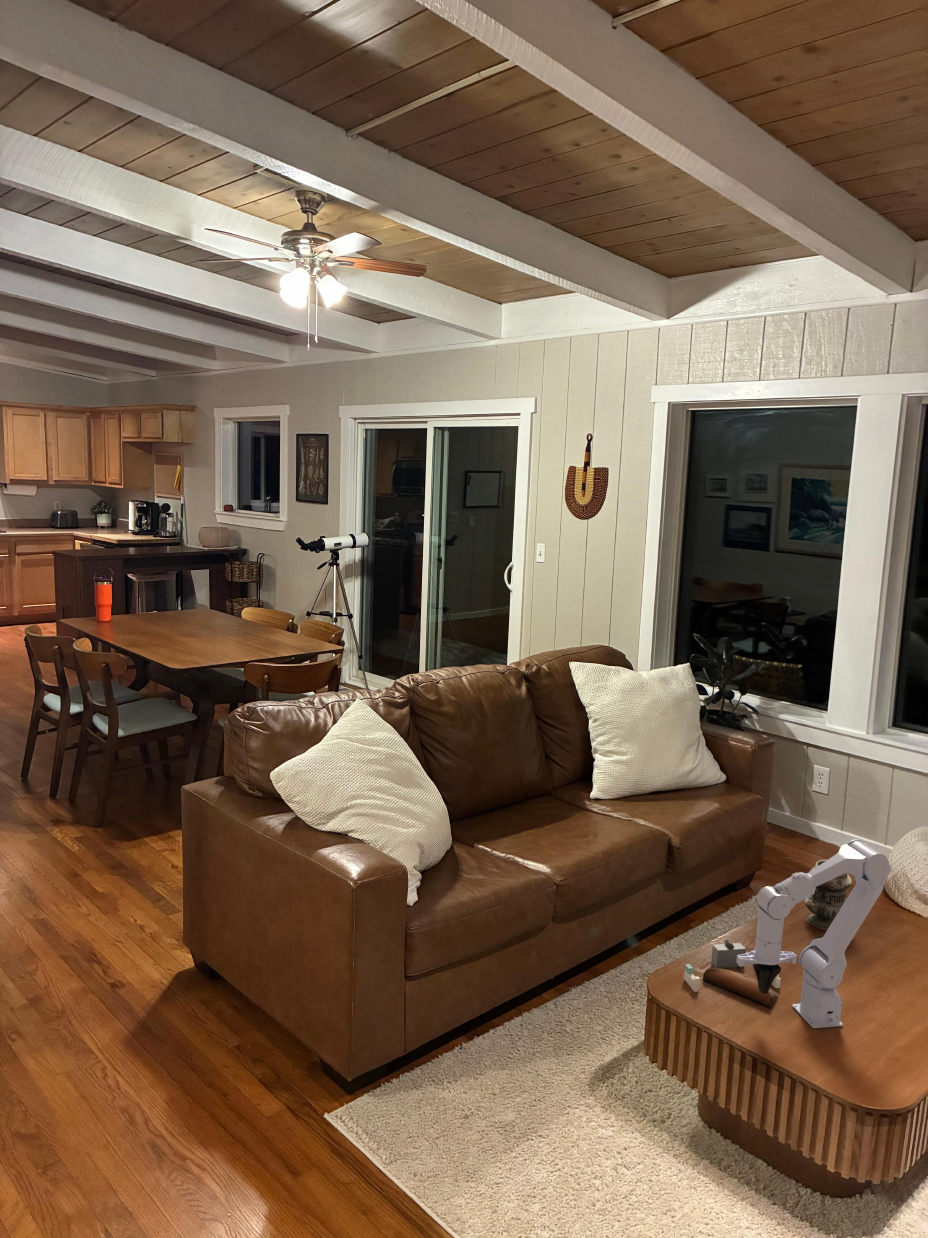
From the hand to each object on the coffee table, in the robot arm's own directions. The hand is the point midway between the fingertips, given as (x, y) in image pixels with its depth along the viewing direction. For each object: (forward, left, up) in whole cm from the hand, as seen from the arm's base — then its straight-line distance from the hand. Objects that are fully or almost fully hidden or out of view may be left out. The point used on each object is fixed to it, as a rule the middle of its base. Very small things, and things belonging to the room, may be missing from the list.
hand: (763, 991), depth 217 cm
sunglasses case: (+13, -2, -8) cm, 15 cm away
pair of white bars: (+17, -1, -7) cm, 18 cm away
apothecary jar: (+43, -45, -7) cm, 62 cm away
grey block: (+24, -4, -7) cm, 26 cm away
